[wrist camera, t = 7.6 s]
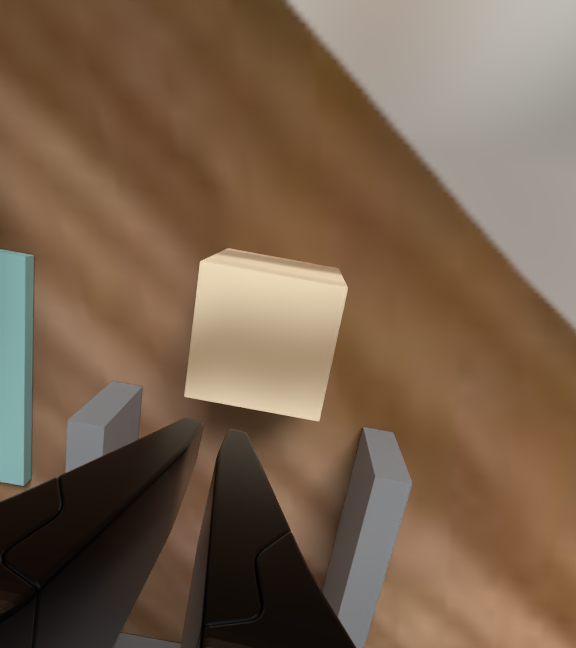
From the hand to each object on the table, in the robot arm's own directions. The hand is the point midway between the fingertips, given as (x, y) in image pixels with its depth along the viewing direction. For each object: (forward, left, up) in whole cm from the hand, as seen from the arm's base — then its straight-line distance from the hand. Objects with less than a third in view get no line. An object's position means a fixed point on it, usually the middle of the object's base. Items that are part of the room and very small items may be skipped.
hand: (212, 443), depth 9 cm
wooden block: (0, 0, -11) cm, 11 cm away
